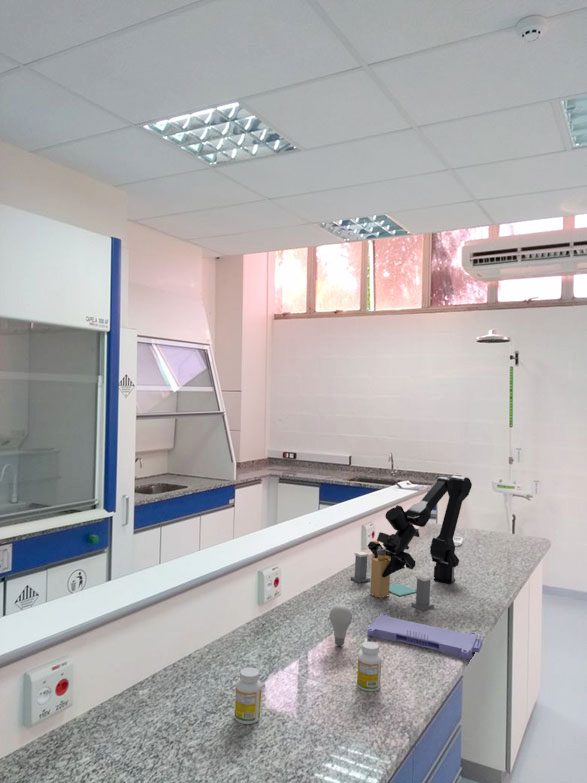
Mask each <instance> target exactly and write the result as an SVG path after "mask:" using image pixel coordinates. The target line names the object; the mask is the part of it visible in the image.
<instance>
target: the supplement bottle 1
mask: <svg viewBox="0 0 587 783" xmlns="http://www.w3.org/2000/svg"><path fill="white" fill-rule="evenodd" d="M239 671H240V672H239V679H238V681H237V682H236V686H235V697H234V698H235V702H234V703H235V704H234V719H235V721H237V722H238V723H239V724H242V725H252V724H255V723H257V722H258V721H259V720H260V718H261V708H262V707H261V705H262V704H261V703H262V691H263V690H262V687H263V686H262V683H261V681H260V670H258V669H257V668H254V667H244V668H242V669H241V670H239Z"/></svg>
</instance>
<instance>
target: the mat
mask: <svg viewBox="0 0 587 783" xmlns="http://www.w3.org/2000/svg"><path fill="white" fill-rule="evenodd" d="M389 591H390V592H392V593H391V594H393V593H394V594H393V595H395V594H396V596H397V595H398V596H397V597H403V596H402V595H404V596H407V595H406V594H408V595H411V594H416V592H417V589H414V588H412V587H408V586H406V585H404V584H402V583H395V584H390V585H389ZM390 592H389V593H390Z"/></svg>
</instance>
